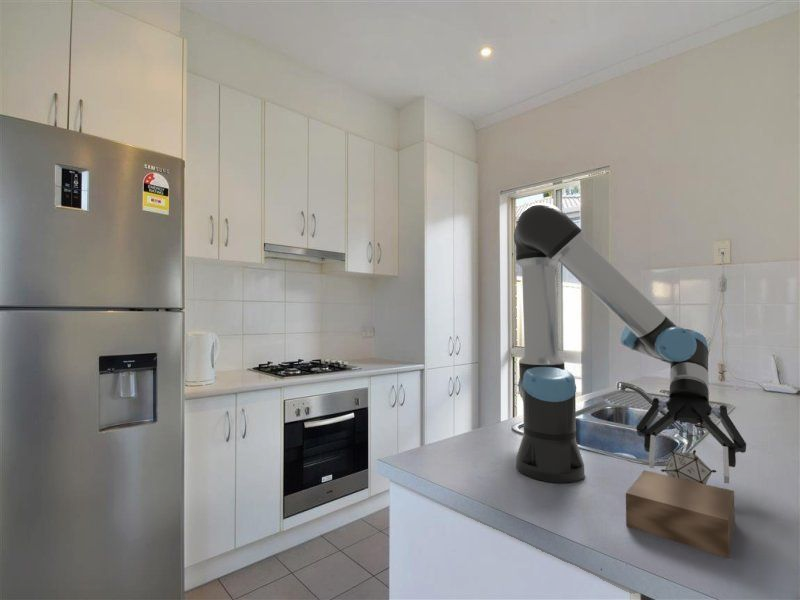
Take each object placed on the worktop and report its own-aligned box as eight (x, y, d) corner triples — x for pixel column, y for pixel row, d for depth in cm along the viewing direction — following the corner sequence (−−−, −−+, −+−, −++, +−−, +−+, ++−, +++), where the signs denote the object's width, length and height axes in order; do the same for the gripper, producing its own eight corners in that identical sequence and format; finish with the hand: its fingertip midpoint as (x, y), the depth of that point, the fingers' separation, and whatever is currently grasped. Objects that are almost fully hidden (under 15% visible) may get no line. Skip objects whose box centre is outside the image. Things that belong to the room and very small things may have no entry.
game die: (698, 512, 84) (719, 485, 78) (652, 488, 88) (669, 461, 83) (704, 479, 90) (724, 452, 84) (661, 458, 94) (677, 431, 88)
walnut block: (626, 527, 72) (625, 492, 72) (644, 500, 82) (644, 470, 82) (728, 560, 62) (727, 520, 62) (734, 525, 73) (734, 490, 73)
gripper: (755, 403, 92) (764, 496, 79) (632, 390, 106) (623, 467, 94) (757, 382, 88) (767, 477, 75) (628, 372, 102) (618, 450, 89)
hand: (687, 472), depth 84 cm, fingers open, 12 cm apart
